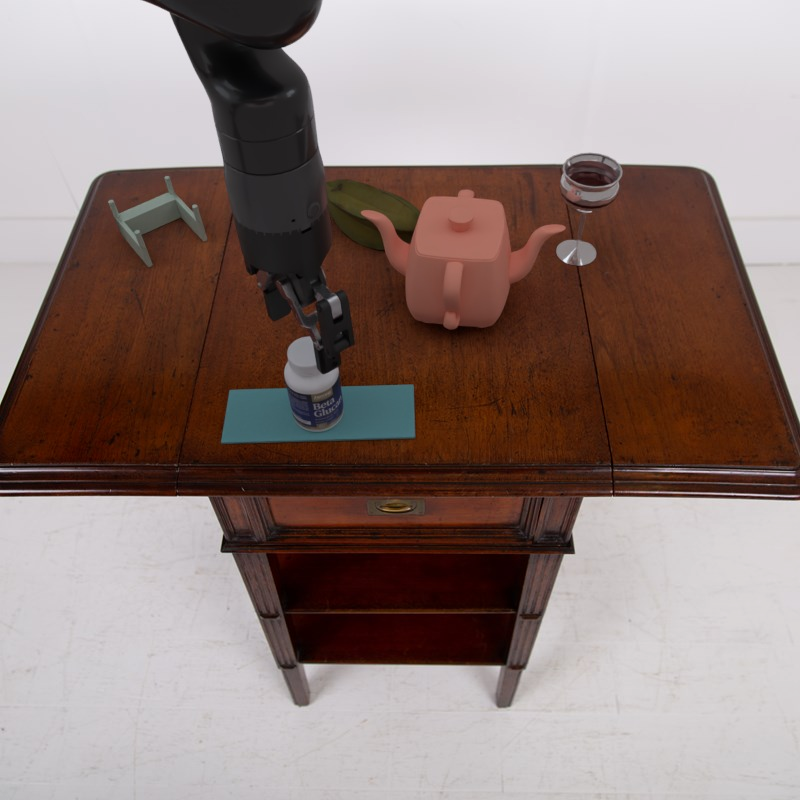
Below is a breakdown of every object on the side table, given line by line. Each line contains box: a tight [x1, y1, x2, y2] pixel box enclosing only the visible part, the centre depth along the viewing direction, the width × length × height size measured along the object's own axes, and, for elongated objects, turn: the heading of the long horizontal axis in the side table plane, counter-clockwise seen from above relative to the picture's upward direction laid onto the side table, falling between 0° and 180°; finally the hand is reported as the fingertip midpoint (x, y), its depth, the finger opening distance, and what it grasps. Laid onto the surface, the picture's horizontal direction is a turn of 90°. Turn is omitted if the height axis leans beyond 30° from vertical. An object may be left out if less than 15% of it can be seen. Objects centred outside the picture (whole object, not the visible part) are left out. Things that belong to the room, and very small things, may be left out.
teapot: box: [361, 189, 566, 331], centre depth 85 cm, size 15×17×13 cm
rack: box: [107, 175, 208, 268], centre depth 97 cm, size 8×8×5 cm
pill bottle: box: [283, 336, 344, 432], centre depth 76 cm, size 5×5×10 cm
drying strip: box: [220, 383, 416, 445], centre depth 80 cm, size 20×7×1 cm, turn 91°
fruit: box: [326, 178, 421, 251], centre depth 96 cm, size 11×12×7 cm
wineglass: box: [555, 152, 623, 266], centre depth 90 cm, size 7×7×12 cm
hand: (304, 341), depth 71 cm, fingers open, 8 cm apart
